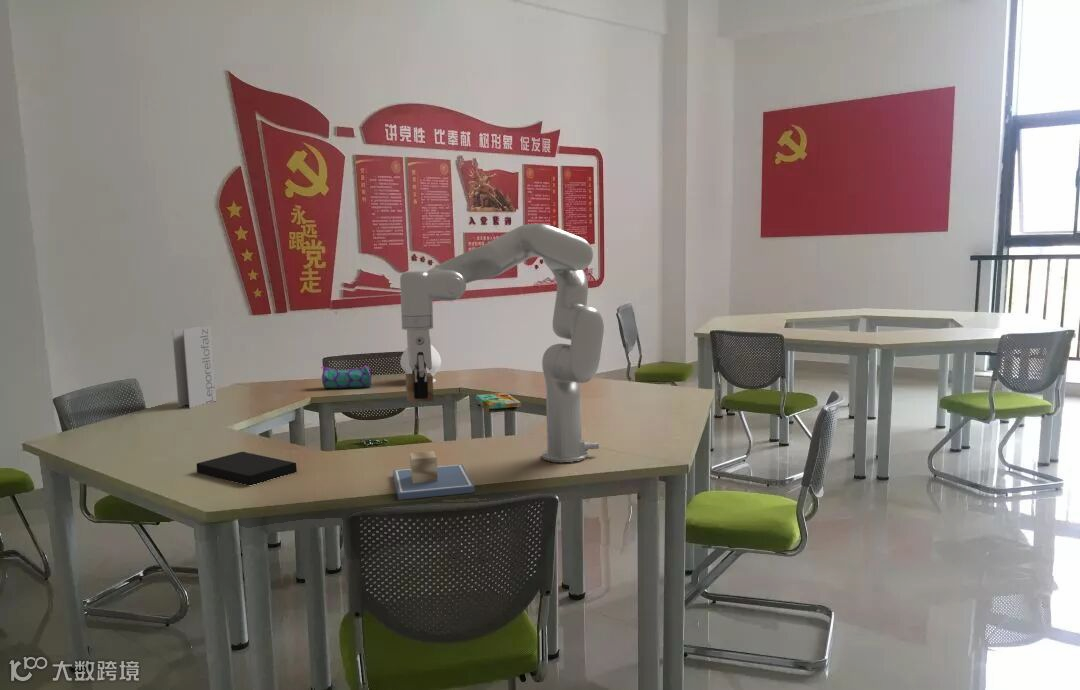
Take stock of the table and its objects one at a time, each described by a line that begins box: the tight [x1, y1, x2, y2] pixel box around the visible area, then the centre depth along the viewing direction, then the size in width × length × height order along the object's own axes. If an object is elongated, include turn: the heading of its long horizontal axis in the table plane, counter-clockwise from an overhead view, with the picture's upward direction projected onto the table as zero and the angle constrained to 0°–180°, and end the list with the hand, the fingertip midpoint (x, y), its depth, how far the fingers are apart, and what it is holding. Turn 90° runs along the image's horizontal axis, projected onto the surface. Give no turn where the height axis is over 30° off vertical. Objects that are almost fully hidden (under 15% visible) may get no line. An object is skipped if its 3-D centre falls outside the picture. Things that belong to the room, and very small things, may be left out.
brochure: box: [171, 325, 217, 409], centre depth 300 cm, size 14×6×30 cm, turn 161°
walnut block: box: [405, 373, 435, 403], centre depth 189 cm, size 6×6×6 cm
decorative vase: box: [399, 333, 442, 383], centre depth 341 cm, size 18×18×25 cm
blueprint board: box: [392, 463, 475, 501], centre depth 192 cm, size 18×20×2 cm
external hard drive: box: [196, 451, 298, 486], centre depth 206 cm, size 14×23×3 cm, turn 56°
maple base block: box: [409, 450, 438, 483], centre depth 191 cm, size 6×6×6 cm
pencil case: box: [321, 365, 373, 389], centre depth 331 cm, size 21×9×10 cm, turn 98°
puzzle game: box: [475, 392, 522, 414], centre depth 282 cm, size 12×5×20 cm
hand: (419, 395), depth 189 cm, fingers closed on walnut block, 6 cm apart
